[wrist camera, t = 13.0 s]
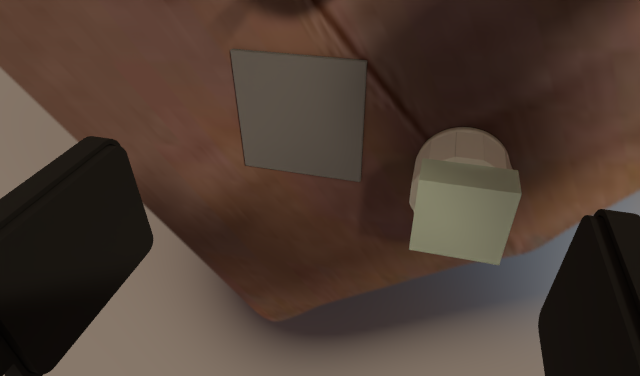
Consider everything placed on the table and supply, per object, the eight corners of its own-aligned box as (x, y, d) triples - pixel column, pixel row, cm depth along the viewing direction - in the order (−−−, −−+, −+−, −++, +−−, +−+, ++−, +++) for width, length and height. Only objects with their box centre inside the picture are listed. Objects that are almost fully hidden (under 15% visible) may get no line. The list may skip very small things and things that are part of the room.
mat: (367, 60, 36) (366, 62, 36) (360, 179, 43) (360, 182, 43) (232, 48, 39) (230, 50, 39) (247, 163, 46) (245, 165, 46)
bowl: (520, 133, 36) (526, 165, 32) (498, 208, 41) (501, 244, 37) (421, 121, 38) (416, 151, 34) (411, 195, 43) (405, 229, 39)
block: (518, 170, 33) (521, 193, 31) (497, 239, 37) (498, 265, 35) (422, 158, 34) (419, 179, 32) (412, 225, 39) (408, 249, 36)
